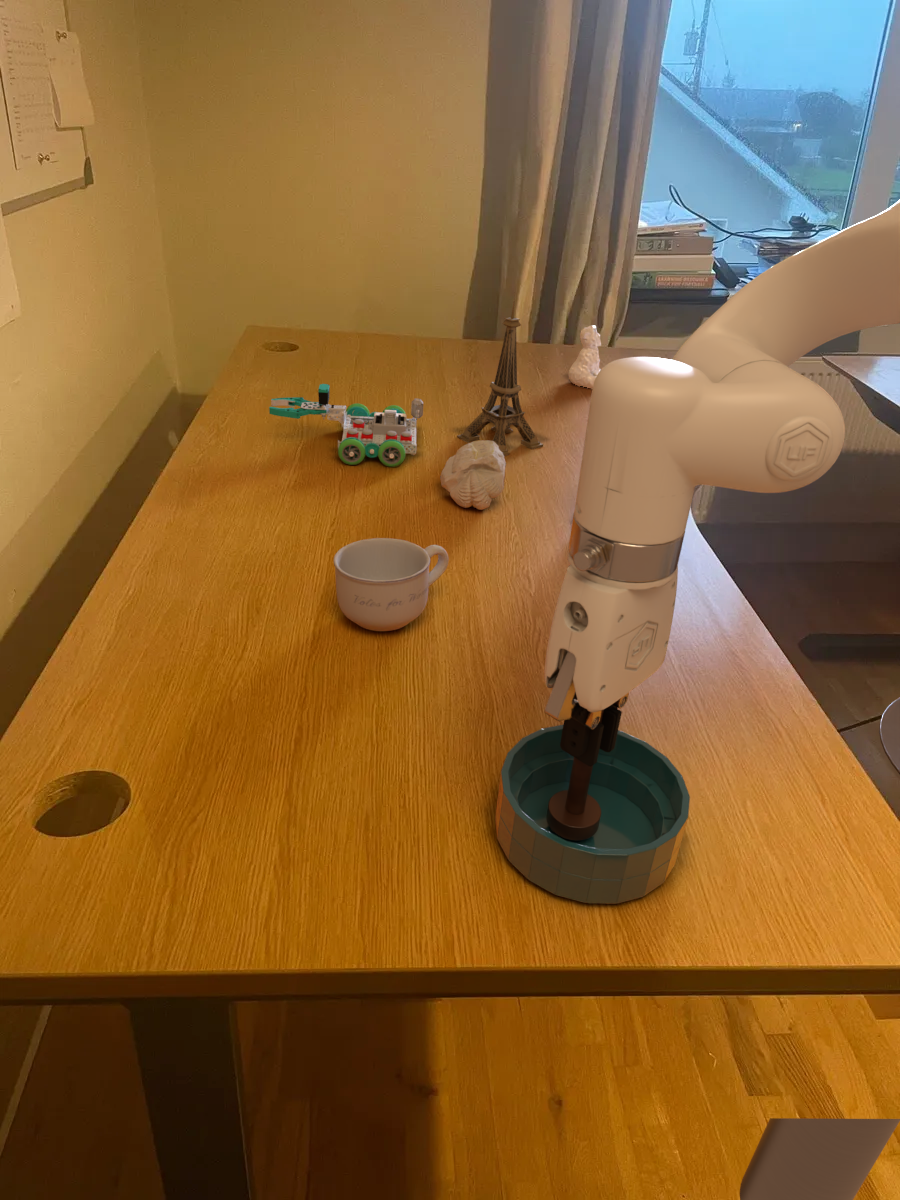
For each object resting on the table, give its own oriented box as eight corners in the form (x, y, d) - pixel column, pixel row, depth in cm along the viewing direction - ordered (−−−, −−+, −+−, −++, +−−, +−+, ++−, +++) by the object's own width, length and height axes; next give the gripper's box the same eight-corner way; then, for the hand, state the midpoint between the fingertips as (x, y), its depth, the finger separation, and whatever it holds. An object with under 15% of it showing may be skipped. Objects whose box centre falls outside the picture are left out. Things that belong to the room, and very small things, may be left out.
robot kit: (277, 421, 154) (275, 368, 150) (421, 428, 156) (424, 376, 151) (262, 463, 139) (259, 405, 134) (422, 470, 140) (425, 413, 135)
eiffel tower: (543, 446, 153) (562, 296, 140) (497, 457, 147) (512, 302, 134) (502, 426, 160) (517, 282, 147) (457, 437, 154) (468, 287, 141)
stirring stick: (593, 803, 77) (619, 676, 70) (602, 841, 73) (630, 711, 66) (543, 801, 76) (563, 674, 69) (549, 840, 73) (571, 710, 66)
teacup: (349, 649, 97) (349, 586, 93) (323, 599, 105) (322, 539, 101) (466, 629, 102) (472, 569, 98) (432, 583, 110) (436, 525, 106)
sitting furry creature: (610, 393, 180) (620, 333, 174) (568, 390, 180) (576, 330, 174) (605, 379, 188) (614, 321, 182) (564, 376, 188) (572, 318, 182)
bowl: (652, 776, 82) (664, 726, 79) (695, 910, 69) (712, 857, 66) (489, 772, 82) (495, 721, 78) (502, 907, 69) (510, 852, 65)
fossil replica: (458, 521, 126) (518, 516, 131) (469, 468, 121) (530, 465, 126) (422, 482, 134) (479, 479, 139) (432, 431, 130) (490, 429, 135)
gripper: (604, 605, 54) (564, 825, 63) (729, 530, 64) (679, 729, 73) (509, 560, 58) (486, 772, 68) (640, 495, 68) (604, 688, 78)
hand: (586, 748), depth 70 cm, fingers closed on stirring stick
